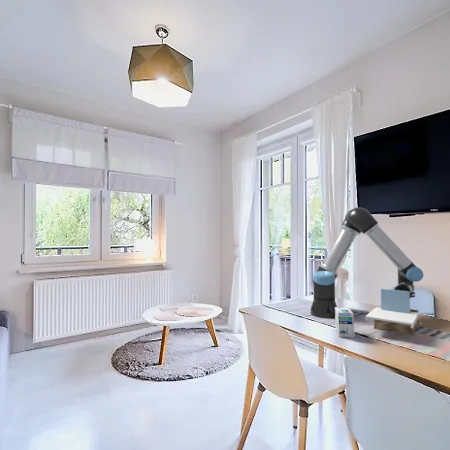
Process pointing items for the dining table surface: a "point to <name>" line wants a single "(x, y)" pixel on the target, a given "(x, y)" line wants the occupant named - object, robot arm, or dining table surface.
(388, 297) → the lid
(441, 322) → the dining table surface
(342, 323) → the light bulb box
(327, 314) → the robot arm
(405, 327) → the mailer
